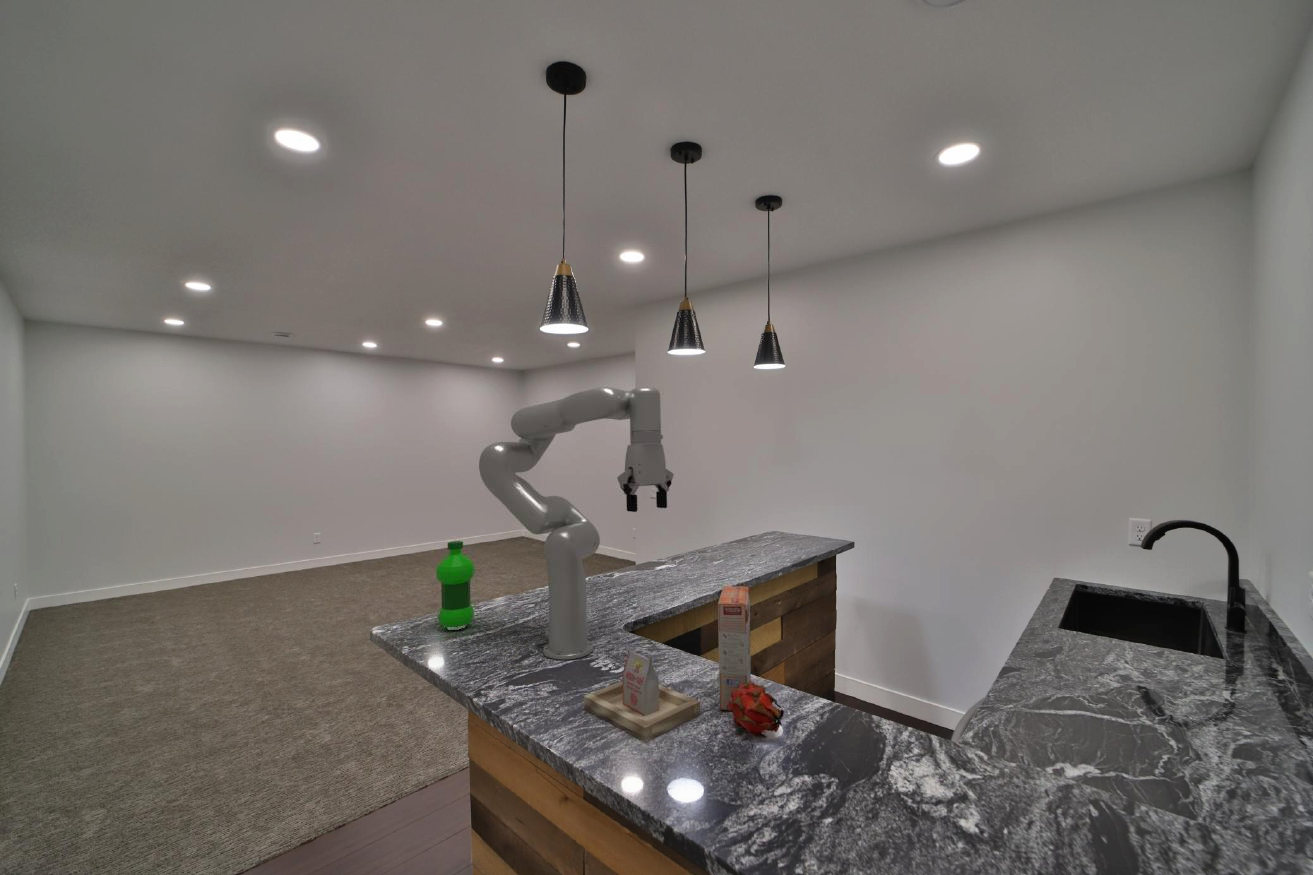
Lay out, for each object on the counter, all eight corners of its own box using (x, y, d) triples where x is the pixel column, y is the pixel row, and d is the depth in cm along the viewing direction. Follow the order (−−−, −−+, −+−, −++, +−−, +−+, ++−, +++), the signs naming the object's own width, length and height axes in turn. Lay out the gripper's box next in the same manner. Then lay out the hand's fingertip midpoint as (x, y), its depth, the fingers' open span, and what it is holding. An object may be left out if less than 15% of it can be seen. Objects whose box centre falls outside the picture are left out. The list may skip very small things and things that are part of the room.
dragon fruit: (735, 721, 106) (779, 760, 96) (707, 706, 102) (751, 744, 92) (757, 681, 108) (803, 714, 98) (731, 664, 104) (776, 697, 94)
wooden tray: (584, 708, 110) (584, 696, 110) (637, 687, 119) (637, 675, 119) (645, 742, 96) (645, 727, 96) (700, 714, 106) (699, 701, 106)
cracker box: (750, 713, 106) (747, 603, 107) (718, 711, 107) (715, 602, 108) (752, 683, 120) (750, 585, 120) (724, 681, 121) (722, 584, 122)
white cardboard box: (637, 698, 112) (636, 648, 112) (659, 710, 107) (658, 657, 107) (622, 704, 109) (621, 653, 110) (644, 716, 104) (643, 662, 104)
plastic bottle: (465, 620, 170) (464, 538, 170) (480, 628, 162) (479, 542, 163) (432, 628, 163) (431, 542, 164) (446, 636, 155) (445, 546, 156)
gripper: (660, 439, 144) (662, 505, 143) (608, 439, 132) (609, 511, 132) (681, 438, 138) (683, 507, 138) (628, 438, 127) (630, 514, 126)
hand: (647, 509), depth 135 cm, fingers open, 9 cm apart
